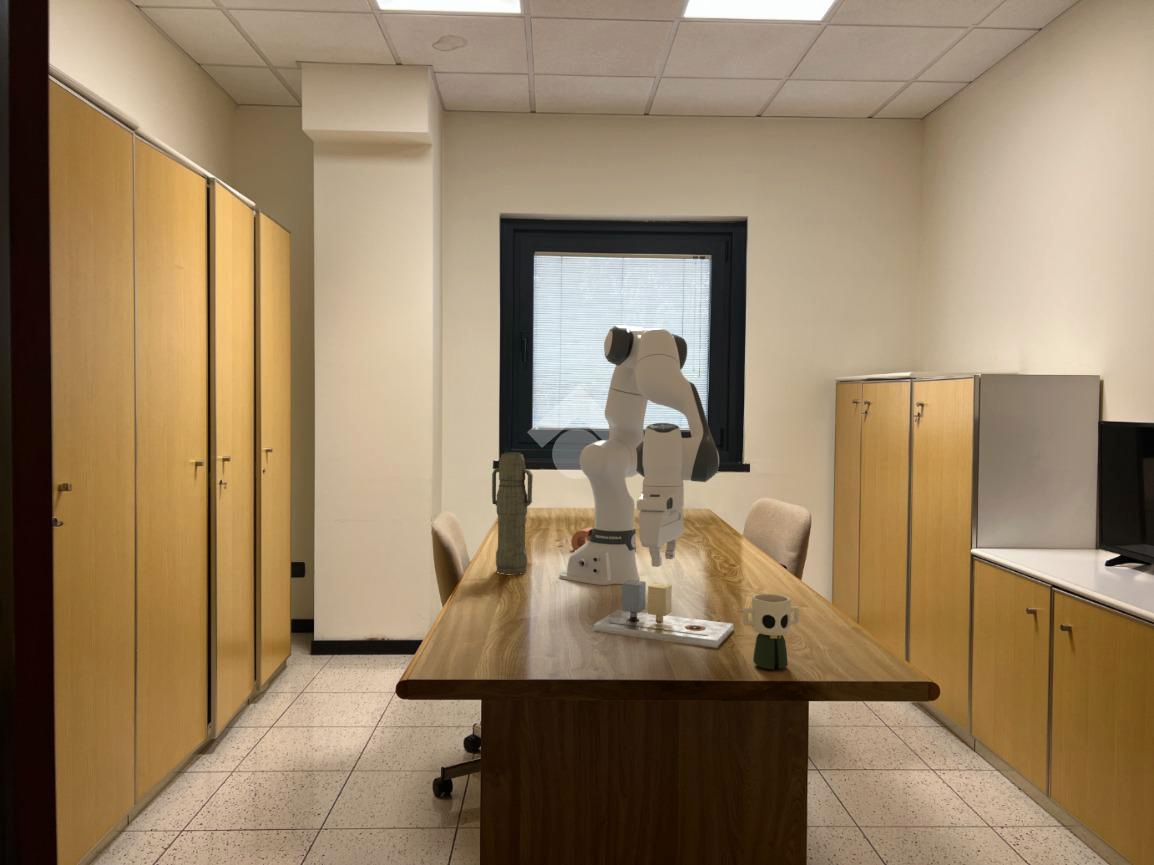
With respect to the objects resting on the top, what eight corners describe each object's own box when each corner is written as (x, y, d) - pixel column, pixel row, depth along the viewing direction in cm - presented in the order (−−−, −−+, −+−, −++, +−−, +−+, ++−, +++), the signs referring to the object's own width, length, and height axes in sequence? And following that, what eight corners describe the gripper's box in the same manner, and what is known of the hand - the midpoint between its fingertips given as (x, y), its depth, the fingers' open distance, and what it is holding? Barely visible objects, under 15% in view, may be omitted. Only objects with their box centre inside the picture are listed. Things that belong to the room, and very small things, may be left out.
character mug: (748, 674, 144) (749, 602, 144) (735, 661, 151) (736, 593, 151) (805, 672, 146) (807, 601, 145) (790, 659, 153) (791, 592, 152)
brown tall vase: (528, 577, 224) (529, 454, 223) (488, 576, 226) (488, 453, 225) (534, 571, 233) (535, 452, 232) (495, 569, 235) (496, 451, 234)
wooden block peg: (647, 623, 171) (648, 586, 171) (653, 618, 175) (654, 582, 175) (665, 625, 170) (665, 588, 169) (671, 620, 173) (671, 584, 173)
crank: (571, 553, 264) (571, 529, 264) (579, 549, 271) (580, 526, 271) (628, 558, 256) (628, 533, 256) (635, 554, 264) (636, 530, 264)
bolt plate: (593, 631, 171) (594, 586, 171) (617, 616, 184) (618, 573, 183) (716, 647, 160) (717, 599, 160) (733, 630, 173) (733, 585, 172)
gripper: (663, 493, 182) (664, 553, 182) (633, 502, 163) (633, 569, 164) (690, 494, 180) (690, 555, 180) (662, 503, 161) (663, 571, 161)
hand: (663, 562), depth 172 cm, fingers open, 8 cm apart
